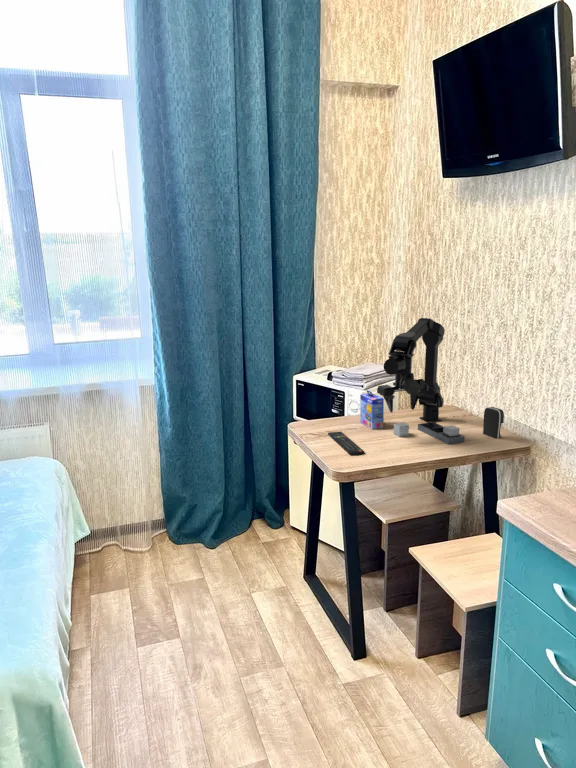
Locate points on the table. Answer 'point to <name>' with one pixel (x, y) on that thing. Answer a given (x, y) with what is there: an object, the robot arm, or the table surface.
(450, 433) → the light grey block
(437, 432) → the dark grey tray
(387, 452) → the table surface
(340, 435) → the remote control
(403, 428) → the grey block
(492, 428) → the black zippered case
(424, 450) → the table surface
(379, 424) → the ink cartridge box
